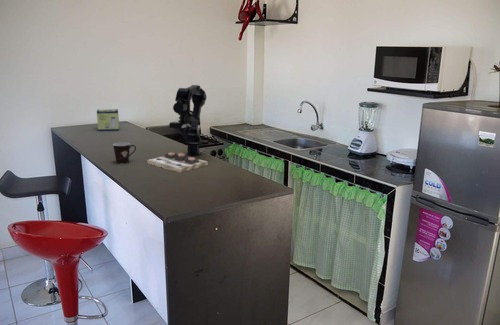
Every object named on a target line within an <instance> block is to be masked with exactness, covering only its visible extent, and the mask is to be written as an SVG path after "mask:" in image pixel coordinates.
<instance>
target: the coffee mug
mask: <svg viewBox="0 0 500 325" xmlns="http://www.w3.org/2000/svg"><path fill="white" fill-rule="evenodd" d="M112 146H113V151H114V157H115V158H114V159H115V162H117V163H116V164H119V163H124V164H128V163H129V160H130V156H131V155H133V154H134V153H135V151H136V150H137V147H136V145H134V144H130V143H129V142H115V143H113V144H112ZM132 147H134V150H133V151H132V152H131V153H130V149H131V148H132ZM127 162H128V163H127Z"/></svg>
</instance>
